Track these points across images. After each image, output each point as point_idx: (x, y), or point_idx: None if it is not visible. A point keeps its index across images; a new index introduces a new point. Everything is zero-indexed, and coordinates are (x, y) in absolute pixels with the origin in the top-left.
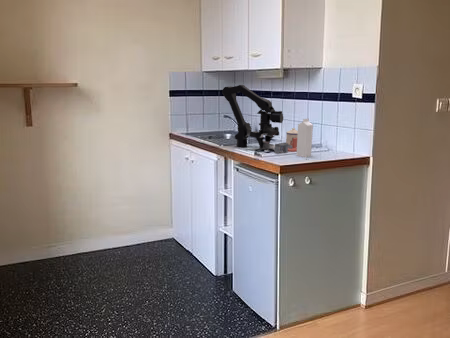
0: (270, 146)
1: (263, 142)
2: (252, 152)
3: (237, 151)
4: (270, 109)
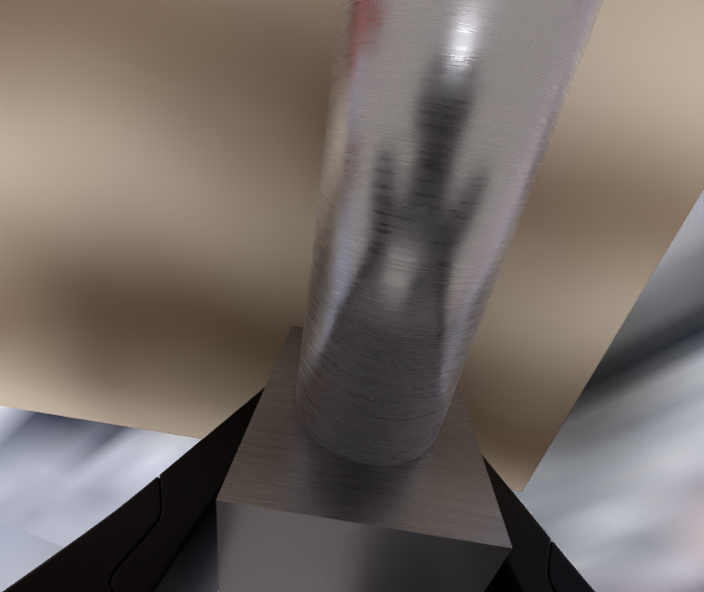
0: (558, 119)
1: (488, 542)
2: (613, 417)
3: (664, 560)
4: None
